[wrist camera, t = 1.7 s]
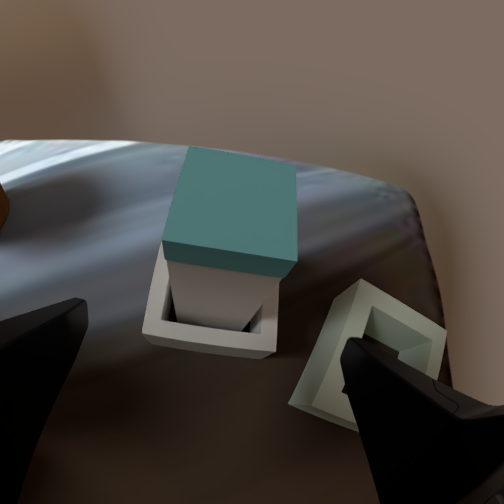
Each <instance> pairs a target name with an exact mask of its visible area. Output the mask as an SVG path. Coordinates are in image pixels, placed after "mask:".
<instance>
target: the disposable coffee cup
mask: <svg viewBox="0 0 504 504" xmlns="http://www.w3.org/2000/svg"><path fill="white" fill-rule="evenodd" d="M8 210H9V202H8V199H7V197H6V195H5V192H4V190H3V188H2V186H1V183H0V229H1V227H2V225H3V224H4V222H5V220H6V217H7V214H8Z"/></svg>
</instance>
